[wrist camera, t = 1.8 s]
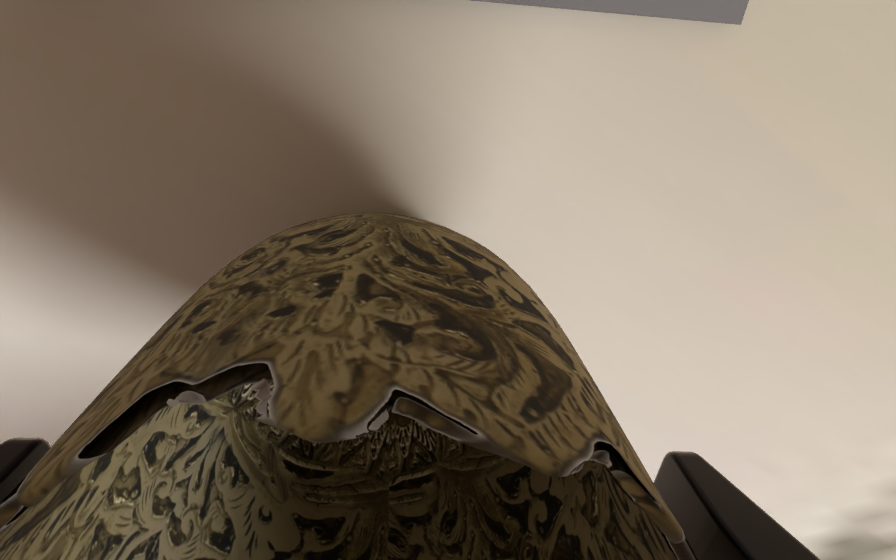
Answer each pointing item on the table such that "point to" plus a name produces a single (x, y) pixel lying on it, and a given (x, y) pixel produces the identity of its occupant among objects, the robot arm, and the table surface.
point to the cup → (348, 421)
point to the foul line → (652, 8)
